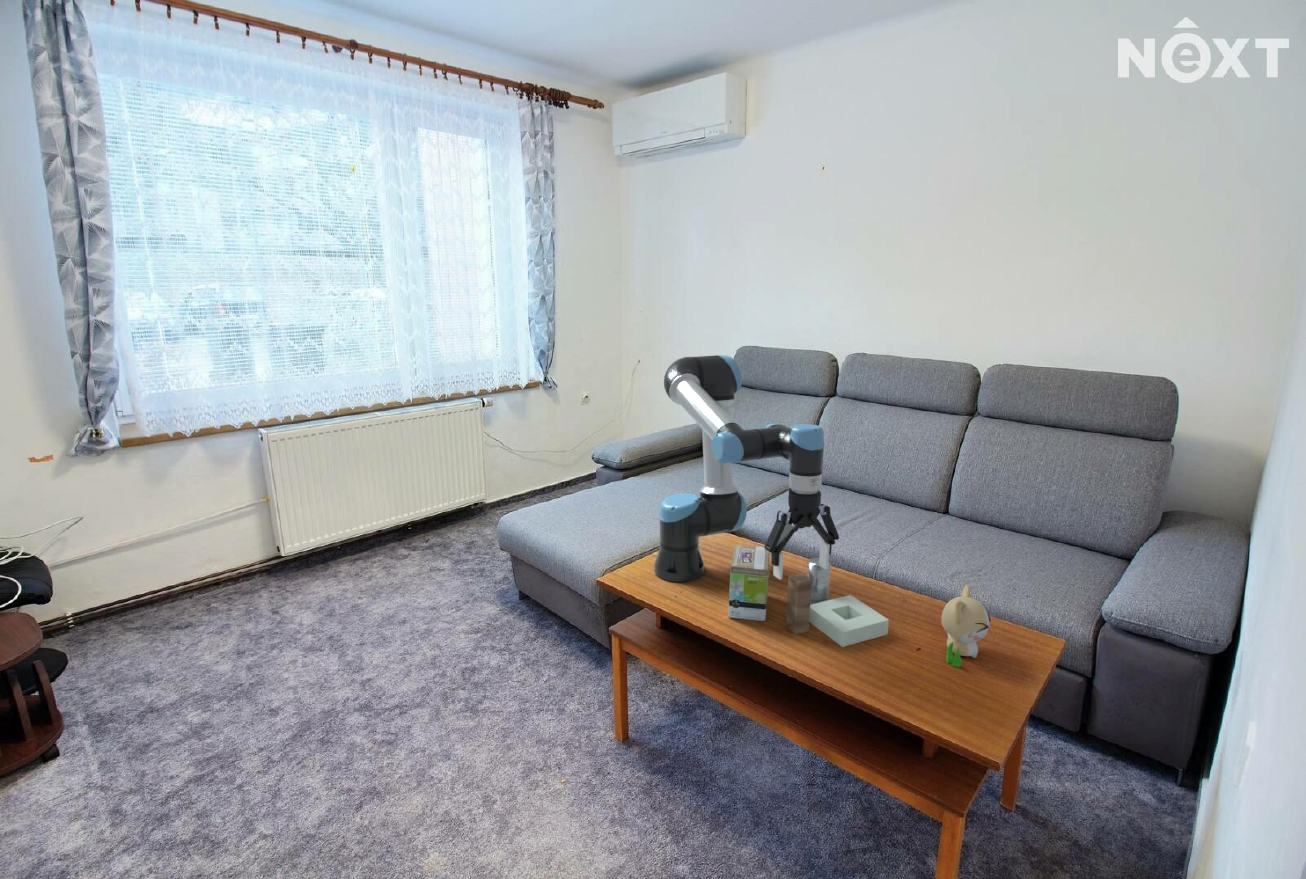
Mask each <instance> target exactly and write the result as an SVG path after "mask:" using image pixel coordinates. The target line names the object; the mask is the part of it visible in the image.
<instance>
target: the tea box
mask: <svg viewBox="0 0 1306 879" xmlns="http://www.w3.org/2000/svg"><path fill="white" fill-rule="evenodd" d="M764 547H765V546H752V545H744V544H743V545H742V544H741V545H740V544H734V547H733V552H732V558H731V564H730V573H729V574H730V575H729V576H730V577H729V597H728V618H731V619H739V620H749V621H758V622H759V621H761V622H765V621H766V617H767V605H768V593H769V581H770V580H769V579H770V578H769V576H770V556H771V555H770V554H771V552H769V551H767V550H766V549H765V548H764Z"/></svg>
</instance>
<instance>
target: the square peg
mask: <svg viewBox="0 0 1306 879" xmlns="http://www.w3.org/2000/svg"><path fill="white" fill-rule="evenodd" d="M787 580H788V581H787V583H788V584H787V597H786V598H787V599H786V600H787V601H786V617H785V618H786V619H785V620H786V621H785V628H786V629H787V630H789V631H790V632H791V633H793V634H794V635H796V636H797V635H799V634H800V635H801V634H804V633H808V632H809V631H810V622H809V618H810V601H811V584H812V580H811V579H809V578H808V576H806V575H805V574H804V573H797V574H793V575H789V576H788V578H787Z"/></svg>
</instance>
